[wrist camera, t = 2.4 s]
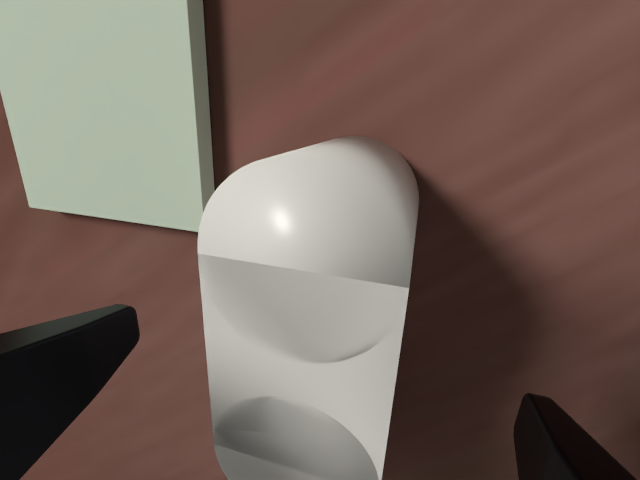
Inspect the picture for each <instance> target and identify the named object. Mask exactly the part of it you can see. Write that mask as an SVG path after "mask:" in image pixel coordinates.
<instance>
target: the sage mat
mask: <svg viewBox="0 0 640 480" xmlns="http://www.w3.org/2000/svg"><path fill="white" fill-rule="evenodd" d="M0 91H1V95H2V99H3V103H4V107H5V111H6V115H7V119H8V123H9V127H10V131H11V135H12V139H13V143H14V147H15V151H16V155H17V159H18V163H19V167H20V171H21V175H22V179H23V183H24V187H25V191H26V195H27V199H28V203H29V207H32V208H39V209H46V210H52V211H59V212H66V213H73V214H80V215H86V216H93V217H100V218H107V219H114V220H120V221H127V222H134V223H141V224H148V225H154V226H161V227H168V228H175V229H182V230H188V231H195V232H199V226H200V222H201V218H202V215H203V212H204V210H205V207H206V205H207V203H208V201H209V199H210V198H211V196H212V194H213V193H214V192H215V188H214V172H213V156H212V140H211V124H210V108H209V92H208V76H207V60H206V44H205V28H204V12H203V0H0Z"/></svg>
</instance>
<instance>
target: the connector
mask: <svg viewBox="0 0 640 480" xmlns="http://www.w3.org/2000/svg"><path fill="white" fill-rule="evenodd" d="M418 209H419V190H418V185H417V181H416V178H415V176H414V173H413V171H412V169H411V167H410V166H409V164H408V163H407V161H406V160H405V159H404V158H403V157H402V156H401V155H400V153H399V152H397V151H396V150H395V149H394V148H392V147H391V146H389V145H388V144H386V143H384V142H382V141H380V140H377V139H374V138H371V137H366V136H344V137H340V138H336V139H333V140H329V141H325V142H322V143H318V144H315V145H311V146H308V147H304V148H301V149H297V150H294V151H290V152H286V153H283V154H279V155H276V156H272V157H269V158H265V159H262V160H258V161H255V162H252V163H250V164H248V165H246V166H244V167H242V168H240V169H239V170H237V171H236V172H234V173H233V174H231V175H230V176H229V177H228V178H227V179H225V180H224V181H223V182H222V183H221V184H220V185H219V187H218V188H217V189H216V190H215V192H214V193H213V194H212V196H211V198H210V199H209V201H208V203H207V205H206V207H205V210H204V212H203V215H202V218H201V222H200V226H199V232H198V262H199V274H200V285H201V297H202V309H203V321H204V333H205V345H206V356H207V368H208V380H209V392H210V404H211V416H212V427H213V439H214V448H215V453H216V457H217V460H218V462H219V465H220V467H221V469H222V471H223V472H224V474H225V476H226V477H227V479H228V480H382V474H383V467H384V460H385V453H386V446H387V439H388V432H389V425H390V418H391V411H392V404H393V397H394V390H395V384H396V377H397V370H398V363H399V356H400V349H401V342H402V335H403V328H404V321H405V314H406V307H407V300H408V293H409V286H410V278H411V269H412V260H413V252H414V243H415V235H416V226H417V217H418Z"/></svg>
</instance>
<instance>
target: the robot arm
mask: <svg viewBox="0 0 640 480" xmlns="http://www.w3.org/2000/svg"><path fill="white" fill-rule="evenodd" d="M139 336H140V333H139V326H138V320H137V314H136V310H135V309H134V308H133V307H131V306H127V305H122V304H115V305H112V306H108V307H104V308H100V309H96V310H92V311H88V312H84V313H80V314H76V315H72V316H68V317H64V318H60V319H57V320H53V321H49V322H45V323H41V324H37V325H33V326H29V327H25V328H21V329H17V330H13V331H9V332H5V333H1V334H0V480H20V478H21V477H22V476H23V475H24V474H25V473H26V472H27V471H28V470H29V469H30V468H31V466H32V465H33V464H34V463H35V462H36V461H37V460H38V459H39V458H40V457H41V456H42V454H43V453H44V452H45V451H46V450H47V449H48V448H49V447H50V446H51V445H52V444H53V443H54V441H55V440H56V439H57V438H58V437H59V436H60V435H61V434H62V433H63V432H64V431H65V429H66V428H67V427H68V426H69V425H70V424H71V423H72V422H73V421H74V420H75V419H76V417H77V416H78V415H79V414H80V413H81V412H82V411H83V410H84V409H85V408H86V407H87V406H88V404H89V403H90V402H91V401H92V400H93V399H94V398H95V397H96V395H97V394H98V393H99V392H100V390H101V389H102V388H103V387H104V385H105V384H106V383H107V382H108V380H109V379H110V378H111V376H112V375H113V374H114V373H115V371H116V370H117V369H118V367H119V366H120V365H121V364H122V362H123V361H124V360H125V358H126V357H127V356H128V355H129V353H130V352H131V351H132V350H133V348H134V347H135V346H136V344H137V342H138V340H139ZM514 444H515V452H516V460H517V469H518V477H519V480H637V479H636V478H635V477H633V476H632V475H631V474H630V473H629V472H628V471H627V470H626V469H625V468H624V467H623V466H622V465H621V464H620V463H619V462H618V461H617V460H616V459H614V458H613V457H612V456H611V455H610V454H609V453H608V452H607V451H606V450H605V449H604V448H603V447H602V446H601V445H600V444H599V443H598V442H596V441H595V440H594V439H593V438H592V437H591V436H590V435H589V434H588V433H587V432H586V431H585V430H584V429H583V428H582V427H581V426H580V425H579V424H577V423H576V422H575V421H574V420H573V419H572V418H571V417H570V416H569V415H568V414H567V413H566V412H565V411H564V410H563V409H562V408H561V407H560V406H558V405H557V404H556V403H555V402H554V401H553V400H552V399H551V398H549V397H545V396H541V395H536V394H531V393H527V394H525V395H524V397H523V399H522V402H521V405H520V408H519V411H518V415H517V418H516V421H515V425H514Z"/></svg>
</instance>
